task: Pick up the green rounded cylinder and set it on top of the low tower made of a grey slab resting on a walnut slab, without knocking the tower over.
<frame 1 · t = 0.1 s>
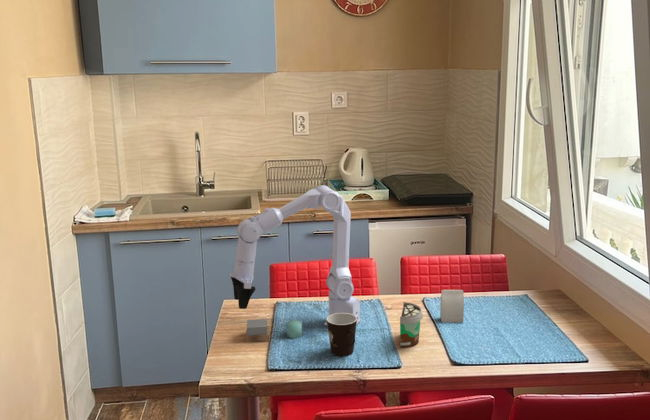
hand: (240, 303, 194), 11 cm above the table, tool pointing down, fingers open, 7 cm apart
top block: (257, 331, 195), point 2 cm above the table, touching base block
coffee mug: (342, 354, 183), on the table
base block: (258, 338, 196), on the table, touching top block
green rounded cylinder: (294, 335, 196), on the table
food container: (412, 342, 190), on the table
grey rectangular block: (451, 320, 205), on the table
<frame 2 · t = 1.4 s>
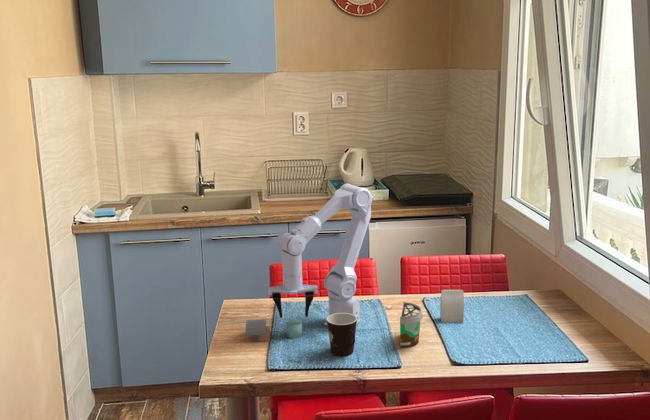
hand: (293, 316, 195), 6 cm above the table, tool pointing down, fingers open, 7 cm apart
nothing on the table moved.
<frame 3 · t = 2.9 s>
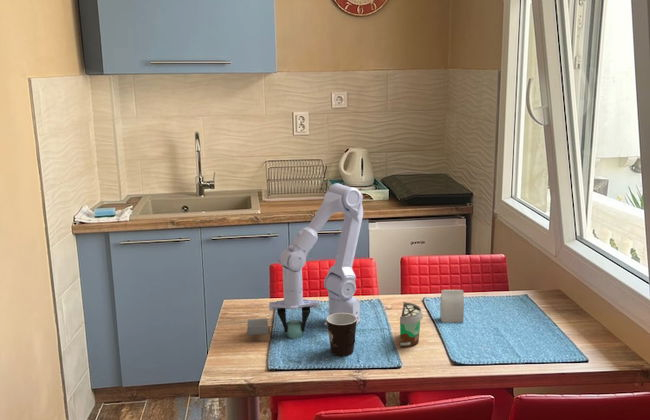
hand: (294, 330, 196), 1 cm above the table, tool pointing down, fingers closed on green rounded cylinder, 5 cm apart
top block: (258, 330, 195), point 2 cm above the table
base block: (259, 338, 196), on the table
green rounded cylinder: (294, 335, 196), on the table, touching gripper
everything else where it was.
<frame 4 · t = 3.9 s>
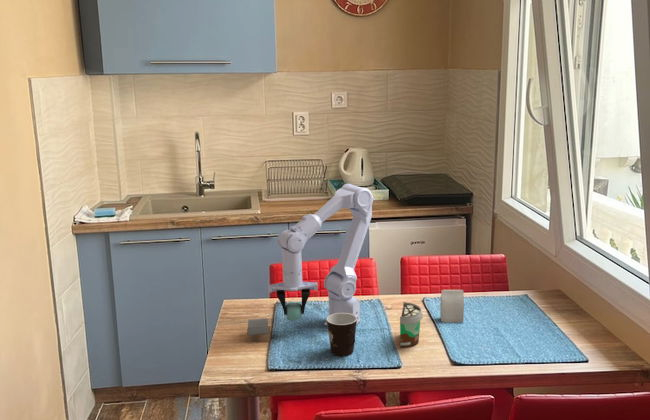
hand: (294, 313, 195), 7 cm above the table, tool pointing down, fingers closed on green rounded cylinder, 5 cm apart
top block: (258, 330, 195), point 2 cm above the table, touching base block
base block: (259, 338, 196), on the table, touching top block
green rounded cylinder: (294, 317, 195), point 6 cm above the table, touching gripper
everything else where it was.
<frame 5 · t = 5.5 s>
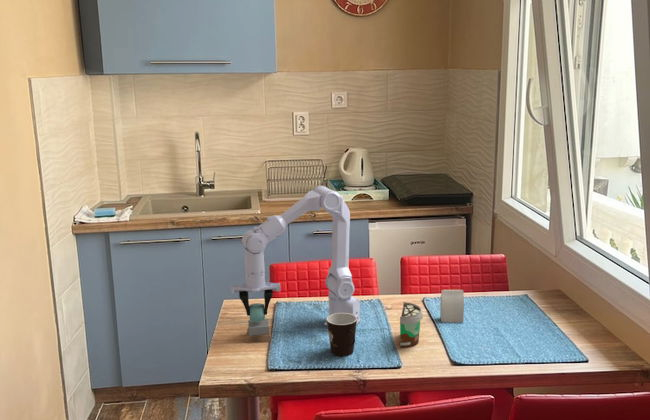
hand: (257, 314, 194), 7 cm above the table, tool pointing down, fingers closed on green rounded cylinder, 5 cm apart
green rounded cylinder: (257, 318, 194), point 6 cm above the table, touching gripper
everything else where it was.
when the fingers open (7 cm above the table, at t = 6.3 s): green rounded cylinder drops 2 cm, resting on top block.
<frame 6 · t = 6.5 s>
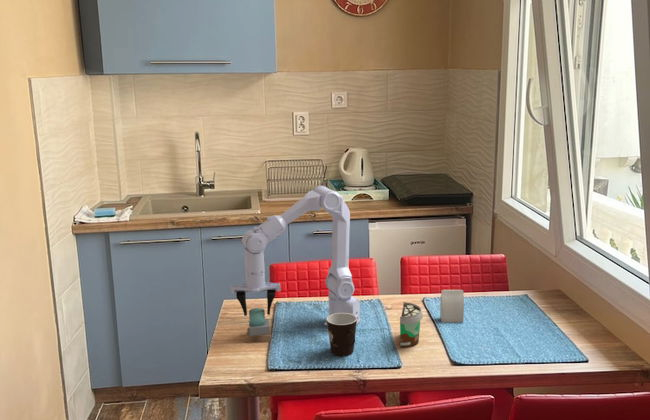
hand: (257, 314, 194), 7 cm above the table, tool pointing down, fingers open, 6 cm apart
top block: (259, 331, 195), point 2 cm above the table, touching base block, green rounded cylinder
green rounded cylinder: (257, 323, 195), point 4 cm above the table, touching top block
everything else where it was.
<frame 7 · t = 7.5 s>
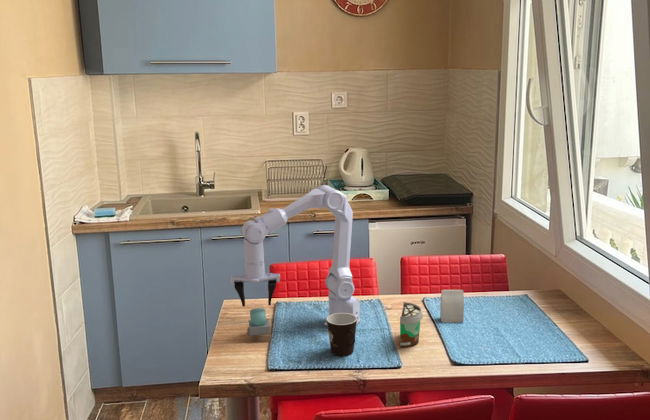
hand: (256, 304, 193), 10 cm above the table, tool pointing down, fingers open, 7 cm apart
nothing on the table moved.
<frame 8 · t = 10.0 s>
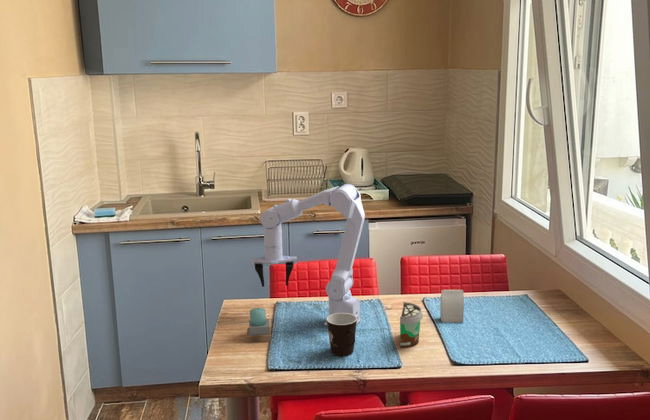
hand: (275, 285, 209), 10 cm above the table, tool pointing down, fingers open, 7 cm apart
top block: (259, 331, 195), point 2 cm above the table, touching green rounded cylinder
base block: (258, 339, 195), on the table
everything else where it was.
at the end: green rounded cylinder 0.3 cm off-centre on the top block, point 2.6 cm above the top block's base; top block 0.5 cm off-centre on the base block, point 2.5 cm above the base block's base; base block moved 0.7 cm from its start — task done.
